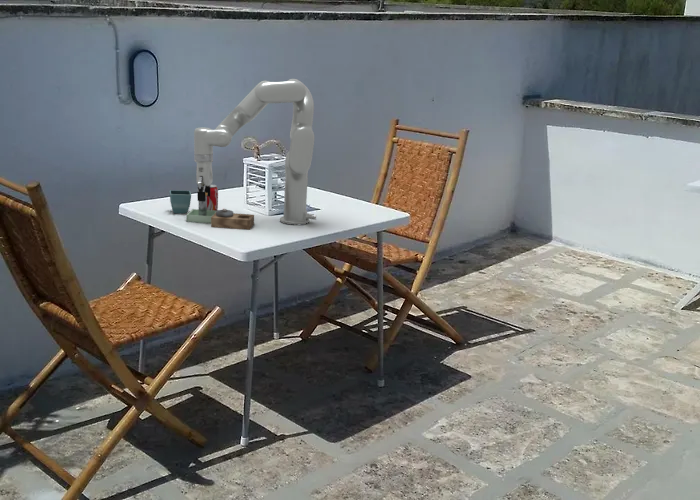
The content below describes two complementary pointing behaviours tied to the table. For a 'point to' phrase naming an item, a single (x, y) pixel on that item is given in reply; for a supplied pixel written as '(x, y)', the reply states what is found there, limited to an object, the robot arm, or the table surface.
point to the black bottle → (203, 206)
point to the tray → (199, 216)
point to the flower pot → (180, 201)
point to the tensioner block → (232, 220)
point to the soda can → (213, 198)
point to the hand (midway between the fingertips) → (204, 198)
